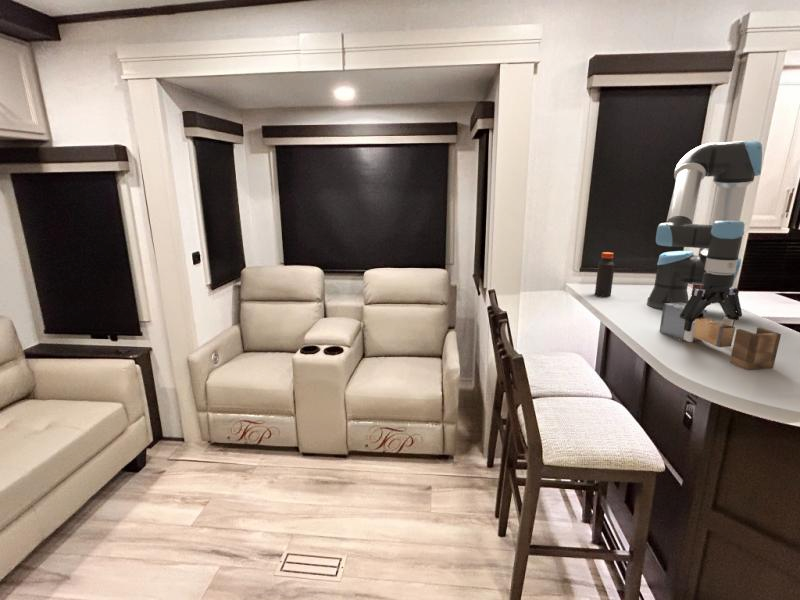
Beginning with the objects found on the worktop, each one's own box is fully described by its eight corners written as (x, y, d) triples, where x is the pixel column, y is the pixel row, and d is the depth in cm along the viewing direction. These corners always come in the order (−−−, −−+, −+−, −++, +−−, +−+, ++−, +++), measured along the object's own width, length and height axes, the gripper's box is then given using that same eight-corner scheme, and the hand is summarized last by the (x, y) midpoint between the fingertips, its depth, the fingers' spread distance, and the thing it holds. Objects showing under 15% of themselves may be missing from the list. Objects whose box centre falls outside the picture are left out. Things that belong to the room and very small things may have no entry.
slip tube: (678, 325, 144) (680, 309, 142) (731, 346, 125) (735, 327, 123) (667, 326, 143) (670, 309, 141) (719, 347, 124) (722, 328, 122)
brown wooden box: (753, 360, 120) (761, 327, 117) (772, 368, 115) (781, 334, 112) (729, 362, 119) (736, 329, 116) (748, 370, 113) (755, 335, 111)
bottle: (613, 297, 191) (619, 254, 186) (598, 297, 191) (603, 254, 186) (606, 293, 198) (611, 251, 193) (592, 293, 198) (597, 252, 193)
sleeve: (677, 330, 146) (681, 302, 143) (701, 340, 136) (706, 310, 134) (659, 331, 145) (663, 303, 142) (682, 341, 135) (687, 311, 133)
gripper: (693, 276, 120) (681, 346, 125) (766, 273, 123) (751, 341, 129) (673, 271, 127) (662, 337, 132) (742, 269, 130) (729, 333, 136)
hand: (706, 339), depth 130 cm, fingers open, 12 cm apart
